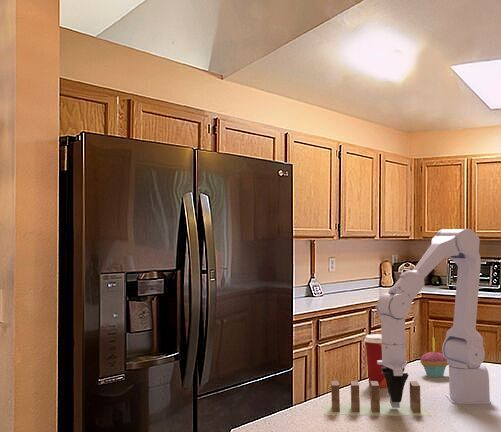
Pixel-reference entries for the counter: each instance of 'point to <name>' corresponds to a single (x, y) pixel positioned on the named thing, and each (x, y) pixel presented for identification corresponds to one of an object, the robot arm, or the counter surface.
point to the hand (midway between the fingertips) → (395, 399)
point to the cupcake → (434, 362)
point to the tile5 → (335, 396)
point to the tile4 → (355, 396)
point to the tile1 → (415, 397)
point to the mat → (384, 410)
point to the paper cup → (375, 359)
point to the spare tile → (394, 404)
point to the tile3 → (375, 396)
